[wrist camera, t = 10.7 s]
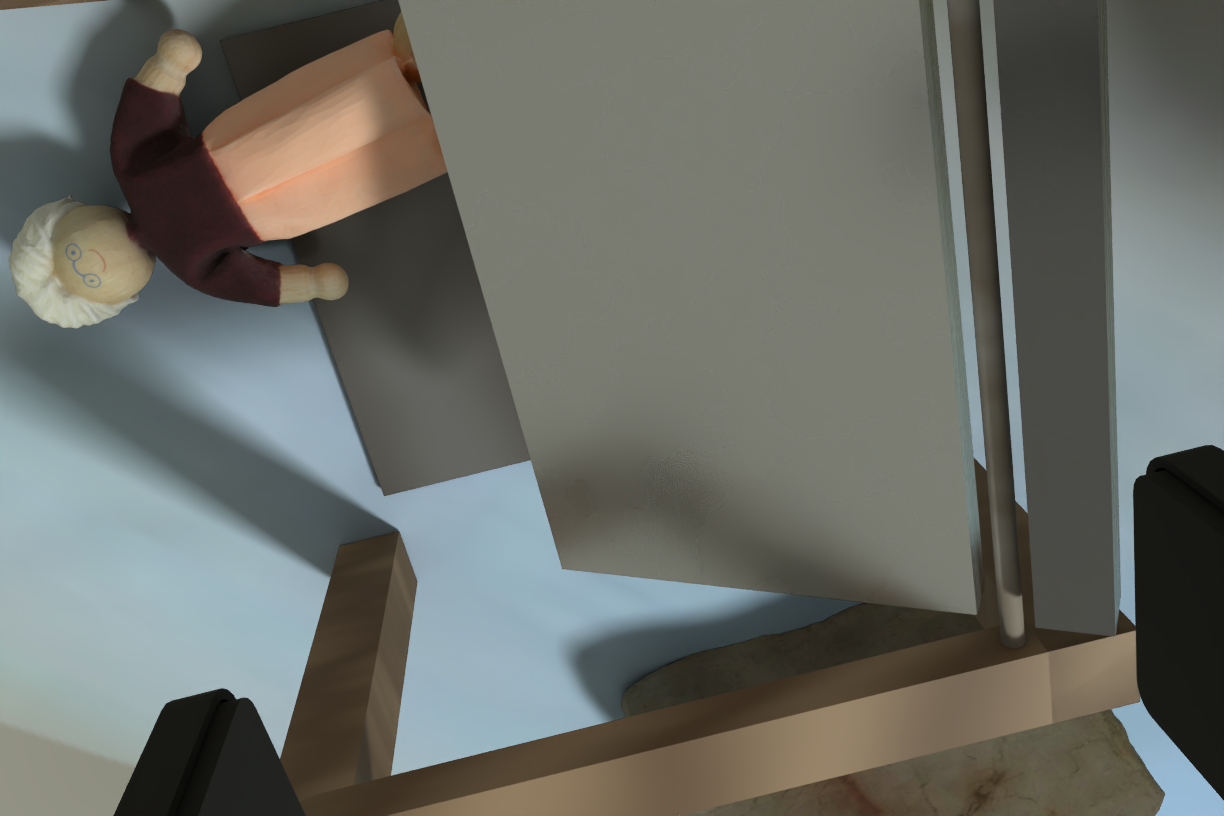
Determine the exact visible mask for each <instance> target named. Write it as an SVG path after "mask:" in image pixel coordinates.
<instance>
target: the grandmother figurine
mask: <svg viewBox="0 0 1224 816" xmlns="http://www.w3.org/2000/svg"><path fill="white" fill-rule="evenodd" d="M201 58H202V50H201V47H200V45H199V43H198V41H197V40H196V39H195V38H194V37H193V36H192V35H191V34H189V33H188V32H186V31H183V30H180V29H172V30H169V31H167V32H165V33H164V34H163V35H162V37H161V38H160V41H159V43H158V48H157V53H156V54H155V55H154V56H152V57H150V58H149V59H148V60H147V61H146V62H145V64H144V65H143V67H142V69H141V70H140V72H139V73H138V74H137V76H136V77H135V78H128V79H127V80H126V82H125V85H124V88H123V91H122V95H121V99H120V102H119V105H118V108H117V111H116V114H115V119H114V122H113V129H112V134H111V145H110V154H111V160H112V166H113V171H114V174H115V176H116V178H117V180H118V182H119V184H120V186H121V189H122V191H123V193H124V195H125V198H126V199H127V201H128V203H129V206H130V209H131V213H127V212H125V211H123V210H120V209H117V208H114V207H110V206H103V205H91V206H89V205H87V204H82V203H80V202H76V201H75V200H74V199H73V198H72V196H71V195H68V198H63V199H61V200H59V201H57V202H54V203H46V204H45V205H43V206H42V207H39V208H37V209H35V210H34V212H33V213H32V214H31V215H30V216H29V217H28V218H27V220H26V221H25V223H24V225H23V228H22V230H21V231H20V232H19V233H18V236H17V238H16V239H15V240H14V241H13V250H12V251H11V253H10V255H9V267H10V270H11V273H12V279H13V282H14V284H15V285H16V293H17V295H18V296H20V297H21V298H22V299H23V300H24V301H25V302H26V303H27V304H28V305H29V306H30V307H31V308H32V310H33V312H34V313H35V314H36V315H37V316H38V317H39V318H41V319H42V320H45V321H47V322H49V323H54V324H57V325H59V326H60V327H63V328H67V327H72V328H79V327H80V326H82V325H92V324H98V323H100V322H101V321H103V320H105V319H108V318H111V317H113V316H116V315H118V314H119V313H120V312H121V310H122V309H123V308H124V307H126V306H127V305H128V304H130V303H133V302H136V301H137V300H138V299H139V296H140V295H139V291H140V290H141V289H142V288H143V287H144V286H145V285H146V284H147V282H148V281H149V279H150V277H151V275H152V272H153V270H154V266H155V261H156V256H157V257H158V258H159V259H160V260H161V261H162V262H163V263H164V264H165V266H166V267H167V268H168V269H169V270H170V271H171V272H173V273H174V274H175V275H176V276H177V277H178V278H180V279H181V280H182V281H184V282H185V283H186V284H187V285H189V286H191V287H192V288H194V289H196V290H198V291H200V292H202V293H205V294H208V295H211V296H214V297H217V298H221V299H225V300H230V301H235V302H243V303H252V304H259V305H264V306H271V307H277V306H279V305H280V304H283V303H293V302H306V301H310V300H312V299H313V298H316V297H318V298H322V299H325V300H336V299H339V298H341V297H342V296H343V295H345V293H346V292H347V289H348V276H347V274H346V272H345V271H344V269H343V268H342V267H341V266H339V265H337V264H334V263H323V264H320V265H317V266H315V267H309V266H306V265H301V264H299V265H282V264H281V263H279V262H275V261H272V260H265V259H263V258H260V257H257V256H255V255H252V254H251V253H248V252H246V251H244V250H246V249H247V248H248V247H249V246H254V245H257V244H260V243H263V242H264V241H268V240H277V239H289V238H293V237H296V236H299V235H302V234H305V233H307V232H309V231H312V230H315V229H318V228H321V227H323V226H326V225H328V224H331V223H334V222H336V221H338V220H341V219H343V218H345V217H347V216H350V215H352V214H354V213H357V212H359V211H361V210H364V209H366V208H369V207H371V206H374V205H376V204H378V203H380V202H383V201H385V200H388V199H390V198H392V197H395V196H397V195H400V194H402V193H405V192H407V191H409V190H411V189H413V188H415V187H417V186H419V185H421V184H423V183H425V182H428V181H430V180H432V179H434V178H436V177H438V176H440V175H443V174H445V173H447V172H448V171H447V168H446V164H445V161H444V157H443V154H442V150H441V147H440V143H439V140H438V136H437V133H436V129H435V126H434V122H433V119H432V116H431V114H430V113H429V110H428V108H427V106H426V104H425V103H424V100H423V98H422V95H421V92H420V90H419V88H418V86H417V83H416V82H422V81H421V77H420V74H419V70H418V67H417V64H416V60H415V57H414V53H413V50H412V46H411V43H410V39H409V36H408V32H407V29H406V25H405V22H404V19H403V15H402V12H401V13H400V14H399V16H398V18H397V20H396V23H395V27H394V35H393V33H392V32H391V31H390V30H384V31H381V32H378V33H376V34H373V35H371V36H369V37H366V38H364V39H362V40H360V41H357V42H355V43H353V44H351V45H349V46H347V47H344V48H342V49H340V50H337V51H335V52H333V53H330V54H328V55H326V56H324V57H322V58H320V59H317V60H315V61H313V62H311V63H309V64H307V65H305V66H303V67H301V68H299V69H297V70H295V71H293V72H291V73H289V74H288V75H286V76H285V77H283V78H281V79H280V80H278V81H277V82H275V83H273V84H271V85H269V86H267V87H266V88H264V89H262V90H260V91H258V92H256V93H254V94H252V95H251V96H249V97H247V98H245V99H244V100H242V101H241V102H239V103H237V104H236V105H234V106H232V107H230V108H228V109H227V110H225V111H224V112H222V113H221V114H220V115H219V116H218V117H216V118H215V119H214V120H213V121H212V122H211V123H210V124H209V125H208V126H207V127H206V128H205V129H204V131H203V132H201V133H200V134H199V135H198V136H197V137H195V138H191V135H190V131H189V127H188V124H187V121H186V118H185V114H184V108H183V105H182V101H181V97H180V93H181V91H182V89H183V88H184V86H185V83H186V76H187V74H188V73H190V72H191V71H192V70H194V69H195V68H196V67H197V66H198V65H199V63H200V61H201Z"/></svg>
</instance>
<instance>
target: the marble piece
mask: <svg viewBox="0 0 1224 816" xmlns="http://www.w3.org/2000/svg"><path fill="white" fill-rule="evenodd" d="M983 629H984V628H983V627H982V626H981V624H980V623H979V621H978V620H977V619H976V617H975V616H974V615H973V614H964V613H955V612H946V611H937V610H928V609H919V608H910V607H901V606H891V605H882V604H873V603H869V604H859V605H857V606H853V607H849V608H848V609H846V610H843V611H841V612H839V613H837V614H835V615H832V616H831V617H829V618H827V619H826V620H824V621H823V622H818V623H814V624H811V625H809V626H807V627H803V628H799V629H796V630H792V631H789V632H785V633H781V634H771V635H762V636H759V637H756V638H753V639H750V640H747V641H745V642H741V643H735V644H732V645H729V646H724V647H720V648H715V649H710V650H705V651H701V652H698V653H694V654H691V655H689V656H687V657H685V658H683V659H681V660H679V661H676V662H674V663H672V664H669V665H667V666H664V667H662V668H661V669H659V670H657V671H656V672H653V673H651V674H648V675H647V676H645V677H644V678H643V679H641V680H640V681H638V682H636V683H634V684H633V685H631V686H630V687H629V688H628V689H627V691H626V692H625V693H624V694H623V698H622V701H621V708H622V710H623V712H624V714H625V716H626V718H627V717H631V716H635V715H639V714H643V713H647V712H651V711H655V710H659V709H663V708H667V707H671V706H676V705H680V704H684V703H688V702H692V701H696V700H700V699H704V698H708V697H712V696H716V695H720V694H724V693H728V692H732V691H736V690H740V689H744V688H748V687H752V686H756V685H760V684H765V683H769V682H773V681H777V680H781V679H785V678H789V677H793V676H797V675H801V674H805V673H809V672H813V671H817V670H821V669H825V668H829V667H833V666H837V665H841V664H845V663H849V662H853V661H858V660H862V659H866V658H870V657H874V656H878V655H882V654H886V653H890V652H894V651H898V650H902V649H906V648H910V647H914V646H918V645H922V644H926V643H930V642H934V641H938V640H942V639H947V638H951V637H955V636H959V635H963V634H967V633H971V632H975V631H979V630H983ZM1164 796H1165V793H1164V791H1163V790H1162V789H1161V788H1160V786H1159V785H1158V784H1157V783H1156V781H1155V780H1154V778H1153V777H1152V775H1151V774H1150V772H1149V771H1148V769H1147V768H1146V766H1145V764H1144V762H1143V761H1142V759H1141V758H1140V756H1139V755H1138V753H1137V752H1136V751H1135V749H1134V747H1133V746H1132V745H1131V743H1130V742H1129V739H1128V736H1127V733H1126V730H1125V728H1124V727H1123V725H1122V723H1121V722H1120V721H1119V720H1118V719H1117V718H1116V717H1115V716H1114V714H1113V712H1112V710H1111V709H1109V710H1105V711H1101V712H1097V713H1093V714H1089V715H1085V716H1081V717H1077V718H1073V719H1069V720H1065V721H1061V722H1057V723H1053V724H1049V725H1045V726H1041V727H1037V728H1033V729H1029V730H1025V731H1020V732H1016V733H1012V734H1008V735H1004V736H1000V737H996V738H992V739H988V740H984V741H980V742H976V743H972V744H968V745H964V746H960V747H956V748H952V749H948V750H944V751H940V752H936V753H932V754H928V755H923V756H919V757H915V758H911V759H907V760H903V761H899V762H895V763H891V764H887V765H883V766H879V767H875V768H871V769H867V770H863V771H859V772H855V773H851V774H847V775H843V776H839V777H835V778H831V779H826V780H822V781H818V782H814V783H810V784H806V785H802V786H798V787H794V788H790V789H786V790H782V791H778V792H774V793H770V794H766V795H762V796H758V797H754V798H750V799H746V800H742V801H738V802H733V803H729V804H725V805H721V806H717V807H713V808H709V809H705V810H701V811H697V812H693V813H689V814H685V815H681V816H1155V815H1156V814H1157V812H1158V811H1159V809H1160V807H1161V804H1162V802H1163V799H1164Z"/></svg>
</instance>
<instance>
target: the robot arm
mask: <svg viewBox="0 0 1224 816" xmlns="http://www.w3.org/2000/svg"><path fill="white" fill-rule="evenodd" d="M1133 506H1134V562H1135V617H1136V673H1137V686H1138V690H1139V694H1140V696H1141V699H1142V701H1143V704H1144V706H1145V707H1146V709H1147V711H1148V713H1149V714H1150V715H1151V717H1152V718H1153V719H1154V720H1155V722H1156V723H1157V724H1158V725H1159V726H1160V727H1161V728H1162V730H1163V731H1164V732H1165V733H1166V734H1167V735H1168V737H1169V738H1170V739H1171V740H1172V741H1173V742H1174V743H1175V745H1176V746H1177V747H1178V748H1179V749H1180V750H1181V752H1182V753H1183V754H1184V755H1185V756H1186V757H1187V759H1188V760H1189V761H1190V762H1191V763H1192V764H1193V765H1194V767H1195V768H1196V769H1197V770H1198V771H1199V772H1200V774H1201V775H1202V776H1203V777H1204V778H1205V779H1206V780H1207V782H1208V783H1209V784H1210V785H1211V786H1212V787H1213V789H1214V790H1215V791H1216V792H1217V793H1218V794H1219V796H1220V797H1221V798H1222V799H1223V800H1224V451H1223V450H1222V449H1220V448H1218V447H1215V446H1213V445H1205V446H1201V447H1197V448H1193V449H1189V450H1185V451H1181V452H1177V453H1173V454H1169V455H1164V456H1160V457H1156V458H1154V459H1153V460H1152V461H1150V463H1149V465H1148V467H1147V471H1146V475H1143V476H1140V477H1138V478H1137V479H1136V481H1135V483H1134V489H1133ZM114 816H306V815H305V813H304V811H303V809H302V807H301V804H300V802H299V800H298V798H297V796H296V794H295V791H294V789H293V787H292V785H291V783H290V781H289V778H288V776H287V774H286V772H285V770H284V768H283V766H282V763H281V761H280V759H279V757H278V755H277V753H276V750H275V748H274V746H273V744H272V742H271V740H270V738H269V735H268V733H267V731H266V729H265V727H264V725H263V722H262V720H261V718H260V716H259V714H258V712H257V710H256V708H255V706H254V704H253V703H252V701H251V700H249V699H248V698H240V699H236V698H235V697H234V695H233V694H232V693H231V692H230V691H229V690H227V689H223V688H222V689H217V690H213V691H209V692H205V693H201V694H197V695H193V696H189V697H185V698H181V699H177V700H173V701H170V702H169V703H167V704H166V705H165V706H164V708H163V709H162V711H161V713H160V715H159V717H158V719H157V721H156V724H155V726H154V728H153V730H152V732H151V735H150V737H149V739H148V741H147V743H146V746H145V748H144V750H143V752H142V754H141V757H140V759H139V761H138V763H137V765H136V768H135V770H134V772H133V774H132V777H131V779H130V781H129V783H128V785H127V787H126V790H125V792H124V794H123V796H122V798H121V801H120V803H119V805H118V807H117V810H116V811H115V814H114Z"/></svg>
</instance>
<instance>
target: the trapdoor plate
mask: <svg viewBox="0 0 1224 816" xmlns="http://www.w3.org/2000/svg"><path fill="white" fill-rule="evenodd" d="M398 1H399V5H400V8H401V12H402V15H403V19H404V22H405V25H406V29H407V32H408V36H409V39H410V43H411V46H412V50H413V53H414V57H415V60H416V64H417V67H418V70H419V74H420V77H421V81H422V84H423V88H424V91H425V95H426V98H427V102H428V105H429V109H430V112H431V116H432V119H433V122H434V126H435V129H436V133H437V136H438V140H439V143H440V147H441V150H442V154H443V157H444V161H445V164H446V168H447V171H448V174H449V178H450V181H451V185H452V188H453V192H454V195H455V199H456V202H457V206H458V209H459V213H460V216H461V219H462V223H463V226H464V230H465V233H466V237H467V240H468V244H469V247H470V251H471V254H472V258H473V261H474V265H475V268H476V271H477V275H478V278H479V282H480V285H481V289H482V292H483V296H484V299H485V303H486V306H487V310H488V313H489V316H490V320H491V323H492V327H493V330H494V334H495V337H496V341H497V344H498V348H499V351H500V355H501V358H502V362H503V365H504V368H505V372H506V375H507V379H508V382H509V386H510V389H511V393H512V396H513V400H514V403H515V407H516V410H517V414H518V417H519V420H520V424H521V427H522V431H523V434H524V438H525V441H526V445H527V448H528V452H529V455H530V459H531V462H532V465H533V469H534V472H535V476H536V479H537V483H538V486H539V490H540V493H541V497H542V500H543V504H544V507H545V511H546V514H547V517H548V521H549V524H550V528H551V531H552V535H553V538H554V542H555V545H556V549H557V552H558V556H559V559H560V563H561V566H562V569H567V570H576V571H585V572H594V573H603V574H612V575H621V576H630V577H639V578H648V579H657V580H666V581H675V582H684V583H693V584H702V585H711V586H720V587H729V588H738V589H747V590H756V591H765V592H774V593H783V594H792V595H801V596H810V597H819V598H828V599H837V600H846V601H855V602H864V603H873V604H882V605H891V606H901V607H910V608H919V609H928V610H937V611H946V612H955V613H964V614H973V615H977V613H978V610H979V606H980V603H981V600H982V596H983V593H984V590H985V580H984V569H983V558H982V547H981V535H980V524H979V513H978V502H977V491H976V479H975V468H974V457H973V446H972V435H971V424H970V412H969V401H968V390H967V379H966V368H965V356H964V345H963V334H962V323H961V312H960V300H959V289H958V278H957V267H956V256H955V245H954V233H953V222H952V211H951V200H950V189H949V177H948V166H947V155H946V144H945V133H944V121H943V110H942V99H941V88H940V77H939V66H938V54H937V43H936V32H935V21H934V10H933V0H398ZM994 14H995V29H996V44H997V59H998V74H999V89H1000V104H1001V119H1002V134H1003V149H1004V164H1005V179H1006V194H1007V209H1008V224H1009V239H1010V254H1011V269H1012V284H1013V299H1014V314H1015V329H1016V344H1017V359H1018V374H1019V389H1020V404H1021V419H1022V434H1023V449H1024V464H1025V479H1026V494H1027V509H1028V524H1029V539H1030V554H1031V569H1032V584H1033V599H1034V614H1035V628H1044V629H1052V630H1061V631H1070V632H1079V633H1088V634H1096V635H1105V636H1114V637H1116V629H1117V621H1118V614H1119V606H1120V598H1121V580H1120V540H1119V499H1118V459H1117V419H1116V378H1115V338H1114V297H1113V257H1112V216H1111V176H1110V136H1109V95H1108V55H1107V14H1106V0H994Z"/></svg>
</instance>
